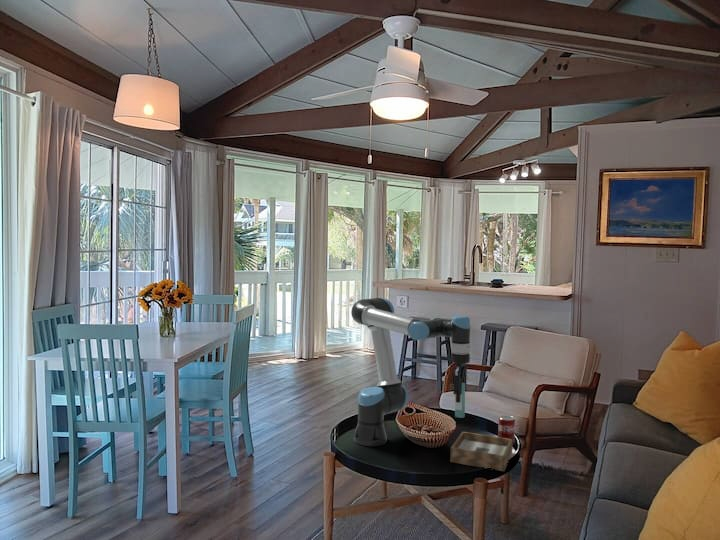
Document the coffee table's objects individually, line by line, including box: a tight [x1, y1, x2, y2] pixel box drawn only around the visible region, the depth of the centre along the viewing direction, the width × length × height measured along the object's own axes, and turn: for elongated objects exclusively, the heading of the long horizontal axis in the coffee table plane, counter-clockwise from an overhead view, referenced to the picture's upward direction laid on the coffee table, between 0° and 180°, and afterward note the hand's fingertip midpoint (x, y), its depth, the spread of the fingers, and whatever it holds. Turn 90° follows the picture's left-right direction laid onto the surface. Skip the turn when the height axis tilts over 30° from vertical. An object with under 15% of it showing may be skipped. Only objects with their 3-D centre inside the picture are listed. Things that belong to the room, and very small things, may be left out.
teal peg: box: [454, 382, 466, 419], centre depth 234 cm, size 4×4×14 cm
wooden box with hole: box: [449, 431, 513, 472], centre depth 237 cm, size 22×22×6 cm
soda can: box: [497, 415, 516, 446], centre depth 254 cm, size 7×7×12 cm
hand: (459, 408), depth 234 cm, fingers closed on teal peg, 4 cm apart
